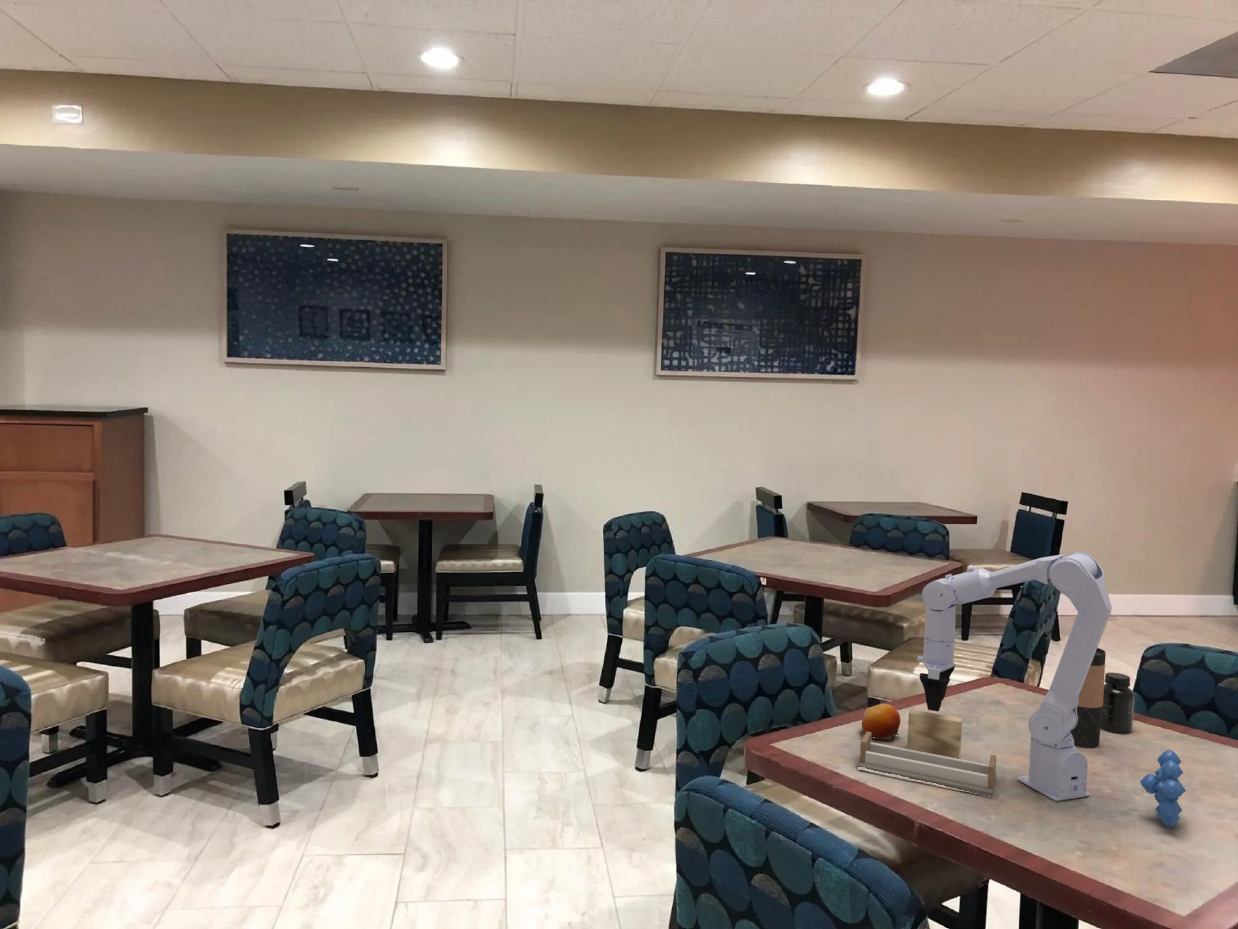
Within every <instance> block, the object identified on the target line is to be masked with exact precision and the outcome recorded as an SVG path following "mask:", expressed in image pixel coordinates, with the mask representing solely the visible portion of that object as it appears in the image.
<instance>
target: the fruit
mask: <svg viewBox="0 0 1238 929" xmlns="http://www.w3.org/2000/svg"><path fill="white" fill-rule="evenodd" d="M900 725H901V716H900V713H899V711H898V710H897V709H896V707H894V706H893V705H892V704H887V703H880V704H876V705H872V706H871V707H868V708H866V709H865V711H864V713H863V715H862V720H861V728H862V729H863V732H864V733H866V732H872V737H875V738H878V739H877V740H885V739H889V740H890V741H891V739H892V738H893V737H894V736H896V735H898V732H899V728H900ZM889 740H888V741H889Z"/></svg>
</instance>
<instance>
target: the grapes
mask: <svg viewBox="0 0 1238 929" xmlns="http://www.w3.org/2000/svg"><path fill="white" fill-rule="evenodd" d="M1156 761H1157V763H1158V764H1159V767H1158V768H1157V769H1156V770H1155V771H1154V774H1155V775H1154V774H1151V773H1149V774H1147V775H1144V776H1143V778H1142V779H1141V780H1140V781H1139V783H1140V784H1141V786H1142V788H1143V790H1145V791H1146V793H1148V794H1152V795H1153V794H1154V795H1153V796H1154V799H1155V801H1156V802H1157V803H1158V806H1157V807H1155V810H1156V812H1157V814H1156V815H1157V816H1158V818H1159V819H1160V821H1161V822H1162V823H1163V824H1164V826H1166V827H1169V828H1170V827H1173V826H1175V825H1176V824H1177V823H1178V822H1179V821H1180V820H1181V818H1180V816H1179V815H1180V814H1181V813H1182V811H1183V809H1182V807H1181V805H1180V804H1179V802H1178V800H1179V797H1181V796H1182V795H1183V794H1184V793H1185V792H1186V789H1185V787H1184V785H1183V784H1182V783H1181V782H1180V780H1179V778H1180V776H1181V775H1182V774H1183V773H1184V772H1183V770H1182V769H1181V767H1180V764H1181V763H1182V760H1181V759H1180V757H1179V756H1178V754H1177V753H1176V752H1175V751H1174V750H1172V749H1167V750H1165V751H1163V752H1162V753H1161V754H1160V755H1159V756H1158V758H1157V759H1156Z"/></svg>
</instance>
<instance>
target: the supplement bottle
mask: <svg viewBox="0 0 1238 929" xmlns="http://www.w3.org/2000/svg"><path fill="white" fill-rule="evenodd" d="M1130 687H1131V677H1130V676H1129V675H1127V674H1125V673H1119V672H1111V671H1110V672H1105V675H1104V694H1103V709H1102V719H1101V729H1100V730H1103V731H1106V732H1108V733H1109V732H1110V733H1114V734H1119V735H1121V734H1122V735H1123V734H1129V733H1131V732H1132V731H1133V721H1134V709H1135V693H1134V691H1133V690H1132V688H1130Z"/></svg>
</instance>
